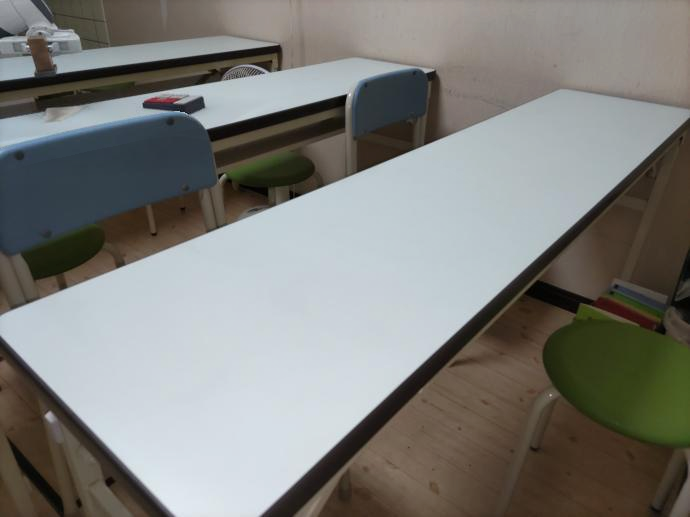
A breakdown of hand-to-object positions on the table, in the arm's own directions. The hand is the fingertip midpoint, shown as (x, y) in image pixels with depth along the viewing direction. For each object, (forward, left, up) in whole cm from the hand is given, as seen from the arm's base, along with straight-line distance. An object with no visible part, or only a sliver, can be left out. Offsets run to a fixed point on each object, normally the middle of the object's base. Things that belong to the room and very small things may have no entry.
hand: (39, 49), depth 137 cm
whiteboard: (+7, +1, -19) cm, 20 cm away
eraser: (0, +1, -6) cm, 6 cm away
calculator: (+33, 0, -19) cm, 38 cm away
